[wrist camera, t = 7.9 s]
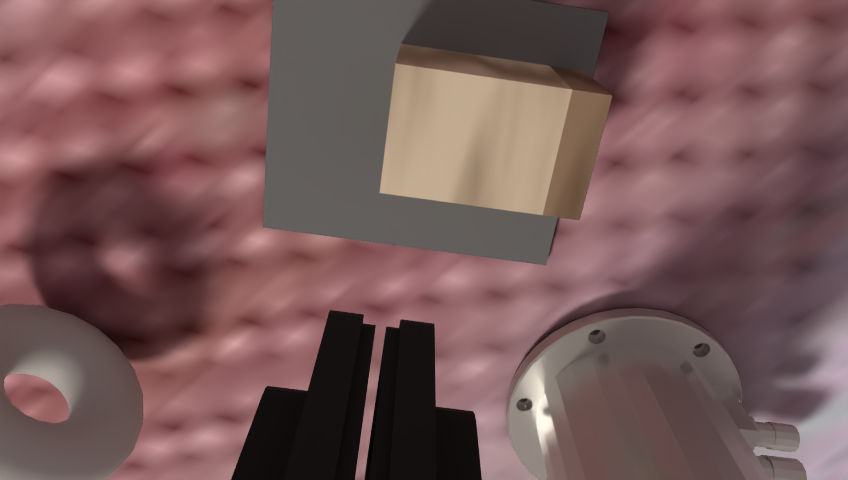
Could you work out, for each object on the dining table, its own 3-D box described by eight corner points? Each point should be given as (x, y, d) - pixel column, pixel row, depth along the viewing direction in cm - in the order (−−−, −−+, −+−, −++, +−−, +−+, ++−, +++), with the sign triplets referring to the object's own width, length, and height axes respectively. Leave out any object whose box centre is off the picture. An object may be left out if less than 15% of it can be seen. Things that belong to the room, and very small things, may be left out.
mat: (606, 11, 28) (609, 12, 27) (544, 261, 33) (545, 264, 32) (277, -40, 27) (274, -40, 27) (264, 224, 32) (262, 227, 32)
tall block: (400, 43, 28) (582, 70, 28) (386, 154, 30) (556, 178, 30) (395, 63, 23) (612, 95, 24) (379, 192, 25) (579, 220, 26)
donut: (-12, 300, 34) (-174, 431, 25) (22, 257, 33) (-134, 379, 24) (148, 408, 37) (57, 562, 28) (184, 372, 36) (102, 520, 27)
